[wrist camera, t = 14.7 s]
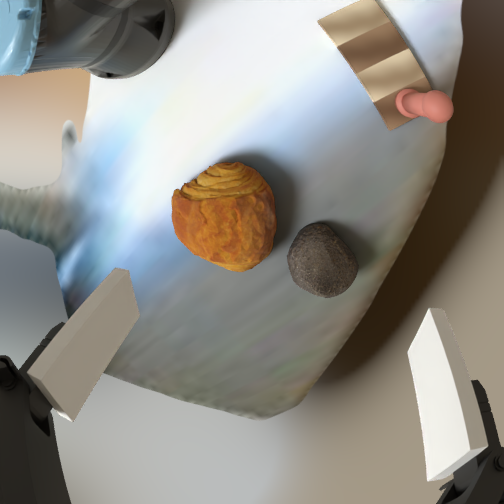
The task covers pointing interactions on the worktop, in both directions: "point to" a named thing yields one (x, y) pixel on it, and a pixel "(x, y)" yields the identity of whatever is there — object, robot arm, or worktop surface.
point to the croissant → (226, 216)
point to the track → (376, 56)
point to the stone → (321, 261)
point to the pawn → (424, 105)
